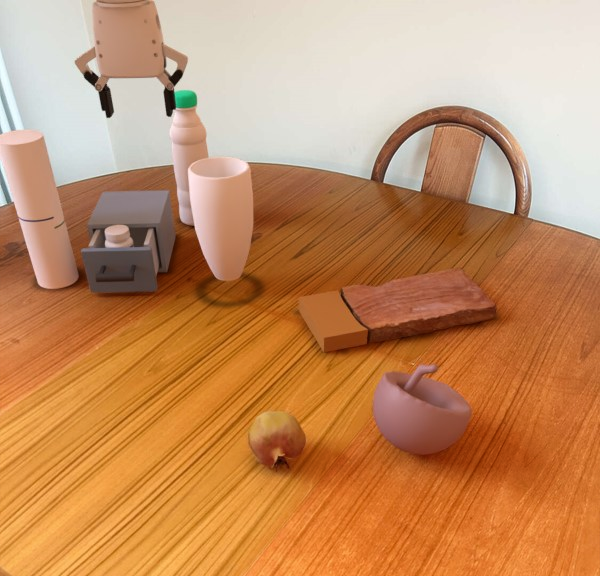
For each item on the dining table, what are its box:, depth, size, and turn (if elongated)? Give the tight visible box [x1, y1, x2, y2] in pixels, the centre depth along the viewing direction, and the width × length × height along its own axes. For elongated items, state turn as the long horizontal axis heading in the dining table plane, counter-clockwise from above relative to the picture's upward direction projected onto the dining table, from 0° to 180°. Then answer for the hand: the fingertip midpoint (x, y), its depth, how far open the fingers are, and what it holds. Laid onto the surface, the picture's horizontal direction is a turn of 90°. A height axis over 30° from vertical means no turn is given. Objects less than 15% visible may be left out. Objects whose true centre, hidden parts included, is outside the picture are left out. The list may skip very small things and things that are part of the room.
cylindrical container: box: [0, 128, 80, 290], centre depth 110 cm, size 7×7×25 cm
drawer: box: [80, 227, 161, 294], centre depth 114 cm, size 18×11×8 cm, turn 2°
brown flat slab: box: [298, 267, 498, 353], centre depth 107 cm, size 13×30×3 cm, turn 108°
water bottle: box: [169, 89, 210, 227], centre depth 129 cm, size 7×7×25 cm
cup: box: [188, 156, 254, 282], centre depth 108 cm, size 10×10×22 cm
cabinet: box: [86, 189, 177, 273], centre depth 122 cm, size 15×13×10 cm
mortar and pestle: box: [372, 363, 472, 456], centre depth 81 cm, size 12×12×12 cm
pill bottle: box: [105, 225, 134, 248], centre depth 113 cm, size 5×5×8 cm
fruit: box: [247, 410, 307, 473], centre depth 81 cm, size 7×7×10 cm
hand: (140, 114), depth 106 cm, fingers open, 9 cm apart
